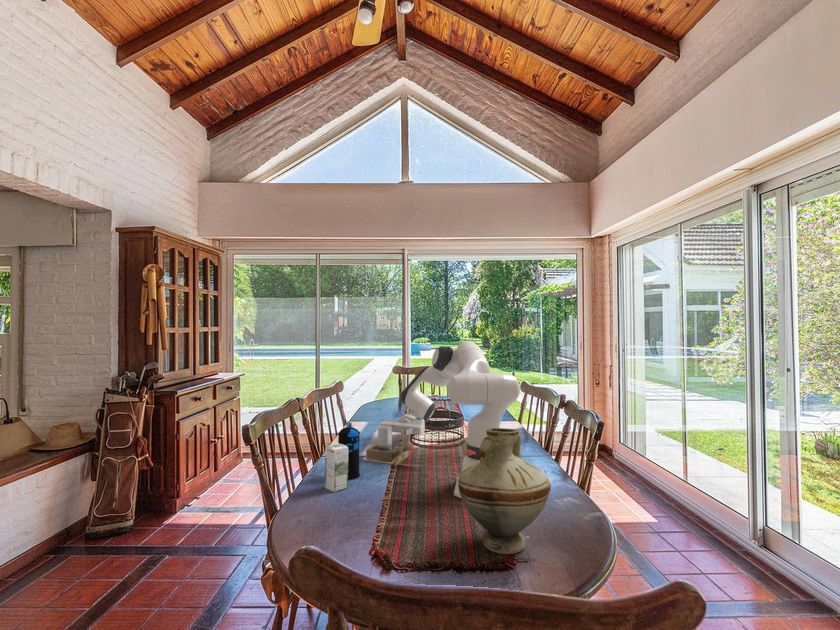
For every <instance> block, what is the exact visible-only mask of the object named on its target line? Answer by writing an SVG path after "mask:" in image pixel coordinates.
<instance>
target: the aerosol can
mask: <svg viewBox="0 0 840 630" xmlns="http://www.w3.org/2000/svg"><path fill="white" fill-rule="evenodd" d="M352 424H353V422H352V421H351V420H348V421H346V427H343V428H342V429H340V430H339V432H337V435H338V436H337V437H338V438H337V439H338V441H337V444H343V445H345V446H347V447H348V481H349V480H350V481H351V480H356V479H358V478H359V477H360V476H361V474H360V435H361V431H359V430H358V429H357V428H355V427H353V425H352Z"/></svg>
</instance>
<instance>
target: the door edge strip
mask: <svg viewBox="0 0 840 630" xmlns="http://www.w3.org/2000/svg"><path fill="white" fill-rule="evenodd" d="M410 454H411V449H407V450H406V451H405V452H404V453H403V454H402V455H401V456H399V457H398V458H396V459H395V460H394V461H393V464H392V466H393V467H397V466H398V465H399V464H401V463H402V462H403V461H405V458H406V459H407V458H408V457H409V456H411V455H410Z"/></svg>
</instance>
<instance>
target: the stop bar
mask: <svg viewBox="0 0 840 630" xmlns="http://www.w3.org/2000/svg"><path fill="white" fill-rule="evenodd" d="M377 443H378V450H383V451H391V450H393V432H392V426H385V425H382V426H380V425H379V427H378V428H377Z"/></svg>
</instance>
